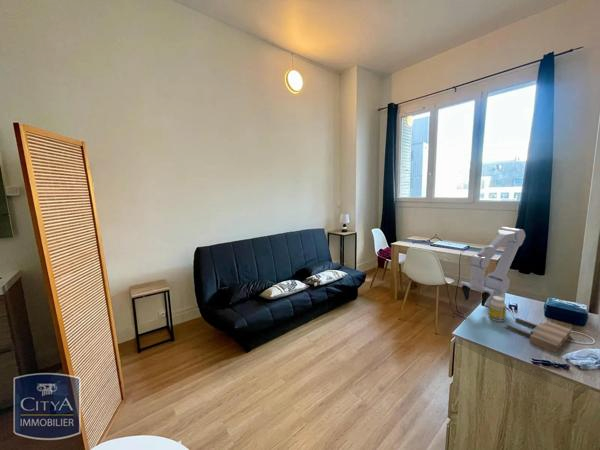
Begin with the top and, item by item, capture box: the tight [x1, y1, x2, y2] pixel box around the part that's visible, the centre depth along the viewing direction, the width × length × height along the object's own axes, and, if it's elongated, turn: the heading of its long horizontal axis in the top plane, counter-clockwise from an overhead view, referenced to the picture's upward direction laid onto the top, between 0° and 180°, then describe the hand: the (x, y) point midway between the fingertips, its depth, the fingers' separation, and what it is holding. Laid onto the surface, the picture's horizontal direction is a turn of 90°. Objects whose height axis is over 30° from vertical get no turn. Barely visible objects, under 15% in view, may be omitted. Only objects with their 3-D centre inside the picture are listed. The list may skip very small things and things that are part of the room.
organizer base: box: [505, 317, 572, 353], centre depth 110 cm, size 20×18×3 cm
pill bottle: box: [488, 296, 507, 323], centre depth 122 cm, size 6×6×11 cm
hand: (474, 302), depth 131 cm, fingers open, 7 cm apart
